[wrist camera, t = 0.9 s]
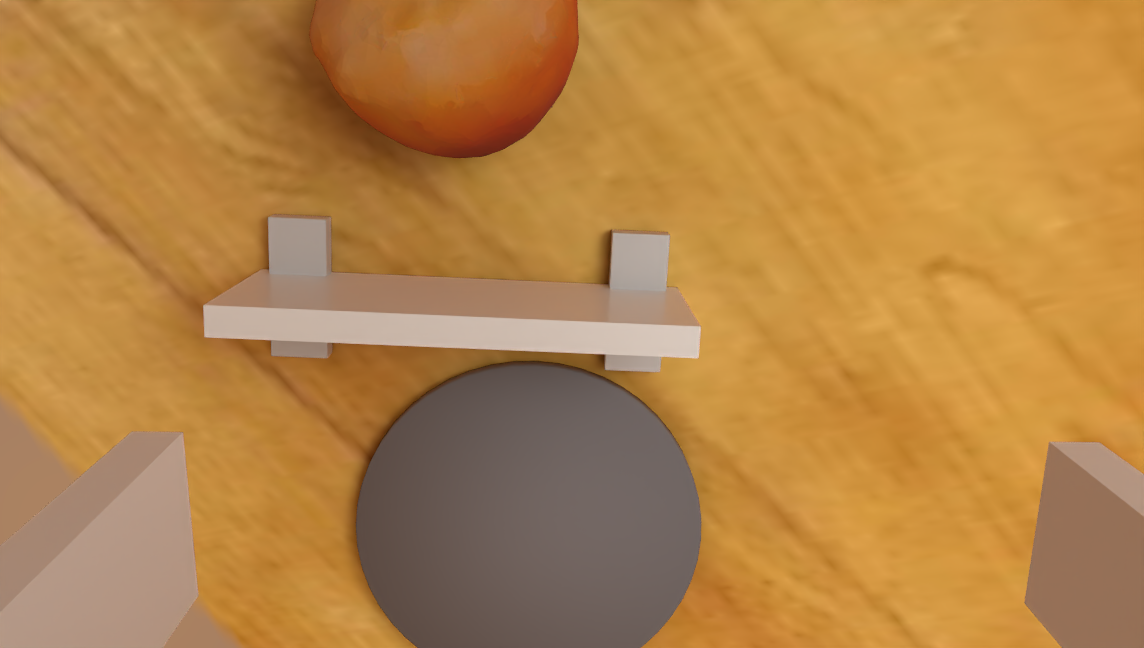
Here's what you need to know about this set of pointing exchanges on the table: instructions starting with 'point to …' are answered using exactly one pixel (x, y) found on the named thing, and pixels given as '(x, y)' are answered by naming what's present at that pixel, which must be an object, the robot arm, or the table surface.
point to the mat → (528, 514)
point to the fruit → (448, 67)
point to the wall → (457, 305)
